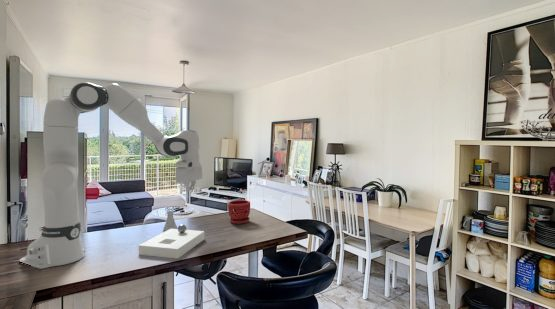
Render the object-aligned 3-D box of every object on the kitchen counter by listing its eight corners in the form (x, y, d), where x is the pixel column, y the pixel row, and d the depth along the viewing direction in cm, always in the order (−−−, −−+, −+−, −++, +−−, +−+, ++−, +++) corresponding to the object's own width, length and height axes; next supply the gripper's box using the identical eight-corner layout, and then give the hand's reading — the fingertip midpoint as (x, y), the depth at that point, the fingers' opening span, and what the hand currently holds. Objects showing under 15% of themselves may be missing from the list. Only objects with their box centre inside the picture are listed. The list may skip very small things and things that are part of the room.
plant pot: (250, 218, 181) (250, 199, 180) (249, 225, 168) (249, 204, 167) (229, 218, 180) (229, 199, 180) (226, 225, 167) (226, 204, 167)
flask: (172, 232, 153) (172, 213, 152) (160, 231, 154) (160, 212, 154) (180, 228, 160) (180, 210, 159) (168, 227, 161) (167, 209, 161)
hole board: (138, 254, 124) (138, 245, 123) (170, 236, 147) (170, 228, 147) (177, 258, 120) (177, 249, 120) (204, 239, 143) (204, 231, 143)
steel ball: (175, 233, 138) (175, 225, 138) (180, 231, 142) (180, 223, 142) (183, 234, 138) (183, 226, 137) (188, 232, 142) (188, 223, 141)
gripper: (194, 161, 157) (194, 186, 158) (173, 164, 137) (173, 193, 138) (205, 161, 156) (205, 187, 156) (185, 164, 136) (185, 194, 136)
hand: (190, 190), depth 147 cm, fingers open, 3 cm apart
